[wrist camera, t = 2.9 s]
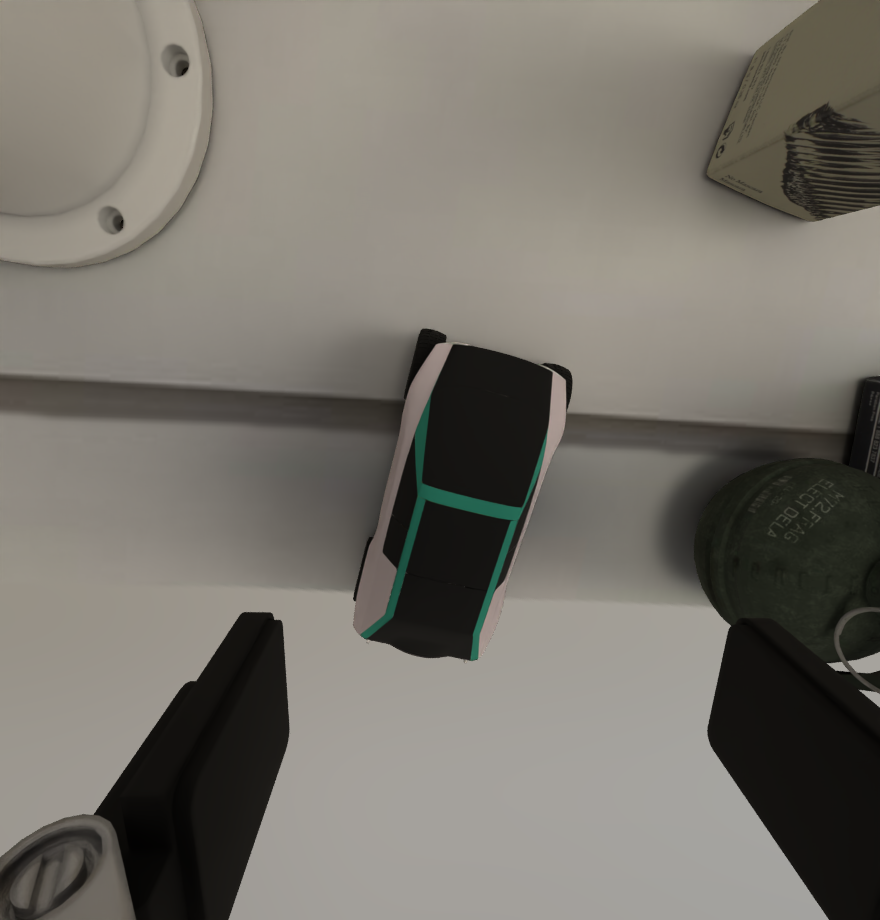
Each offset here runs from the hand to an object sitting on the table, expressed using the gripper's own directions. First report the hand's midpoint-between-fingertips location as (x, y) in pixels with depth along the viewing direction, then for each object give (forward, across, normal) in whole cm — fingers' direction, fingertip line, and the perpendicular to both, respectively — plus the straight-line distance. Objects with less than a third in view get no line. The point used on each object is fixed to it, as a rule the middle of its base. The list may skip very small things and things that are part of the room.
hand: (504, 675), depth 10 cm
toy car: (+12, +1, 0) cm, 12 cm away
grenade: (+12, -13, +2) cm, 17 cm away
